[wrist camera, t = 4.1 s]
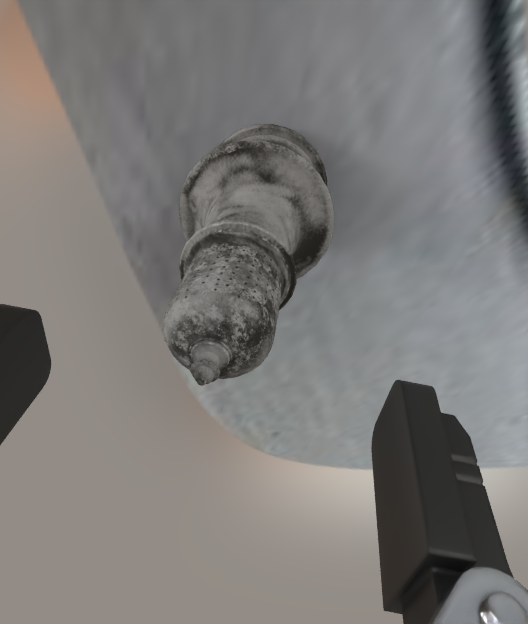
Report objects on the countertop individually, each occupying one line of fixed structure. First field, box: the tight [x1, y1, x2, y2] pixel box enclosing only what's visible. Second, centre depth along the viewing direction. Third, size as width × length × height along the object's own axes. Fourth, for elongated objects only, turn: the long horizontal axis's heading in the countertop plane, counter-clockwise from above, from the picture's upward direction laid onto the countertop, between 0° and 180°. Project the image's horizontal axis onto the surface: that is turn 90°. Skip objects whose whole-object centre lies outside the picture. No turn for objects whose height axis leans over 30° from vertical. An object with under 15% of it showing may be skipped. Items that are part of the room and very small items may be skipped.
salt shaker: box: [163, 125, 334, 385], centre depth 14 cm, size 6×6×12 cm
